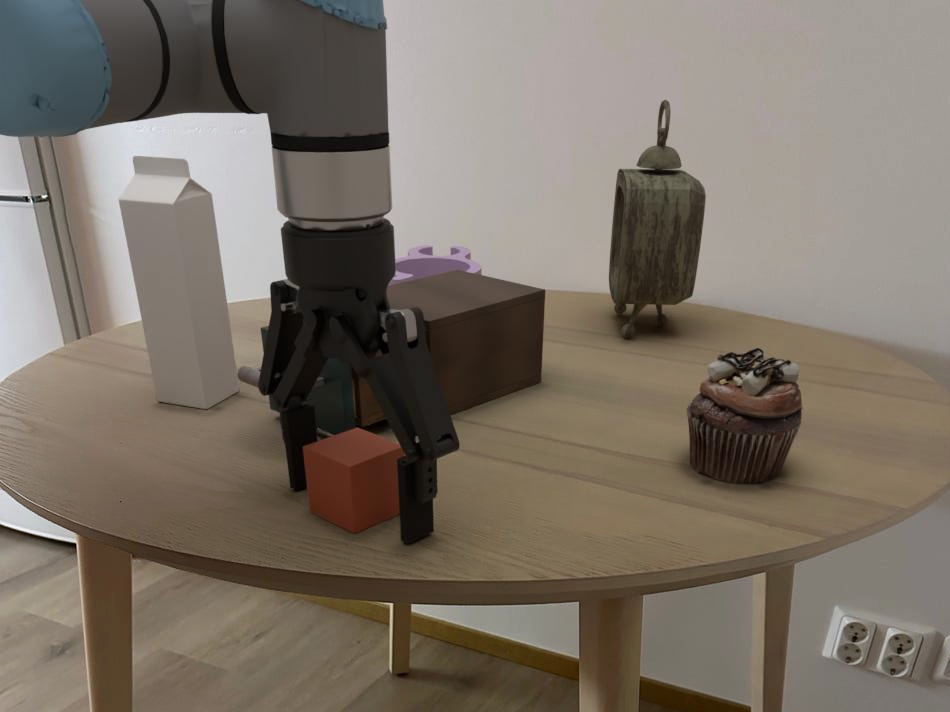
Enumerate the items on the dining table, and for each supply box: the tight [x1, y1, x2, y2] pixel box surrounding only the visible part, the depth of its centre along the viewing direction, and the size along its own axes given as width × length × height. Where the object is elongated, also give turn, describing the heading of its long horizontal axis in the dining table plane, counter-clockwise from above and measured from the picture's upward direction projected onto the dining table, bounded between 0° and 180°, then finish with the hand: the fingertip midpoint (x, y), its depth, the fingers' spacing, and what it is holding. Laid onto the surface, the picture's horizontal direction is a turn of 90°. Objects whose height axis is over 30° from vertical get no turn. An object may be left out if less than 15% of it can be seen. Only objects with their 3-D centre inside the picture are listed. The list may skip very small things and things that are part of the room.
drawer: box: [237, 325, 387, 436], centre depth 88 cm, size 20×11×8 cm, turn 137°
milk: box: [118, 155, 240, 410], centre depth 89 cm, size 6×6×22 cm
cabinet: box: [387, 270, 546, 416], centre depth 95 cm, size 17×13×10 cm
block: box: [303, 427, 405, 534], centre depth 72 cm, size 6×6×6 cm
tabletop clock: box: [608, 99, 707, 339], centre depth 111 cm, size 14×9×25 cm, turn 178°
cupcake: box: [686, 347, 804, 485], centre depth 79 cm, size 10×10×10 cm
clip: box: [388, 244, 483, 286], centre depth 118 cm, size 20×12×7 cm, turn 176°
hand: (359, 509), depth 73 cm, fingers open, 13 cm apart
